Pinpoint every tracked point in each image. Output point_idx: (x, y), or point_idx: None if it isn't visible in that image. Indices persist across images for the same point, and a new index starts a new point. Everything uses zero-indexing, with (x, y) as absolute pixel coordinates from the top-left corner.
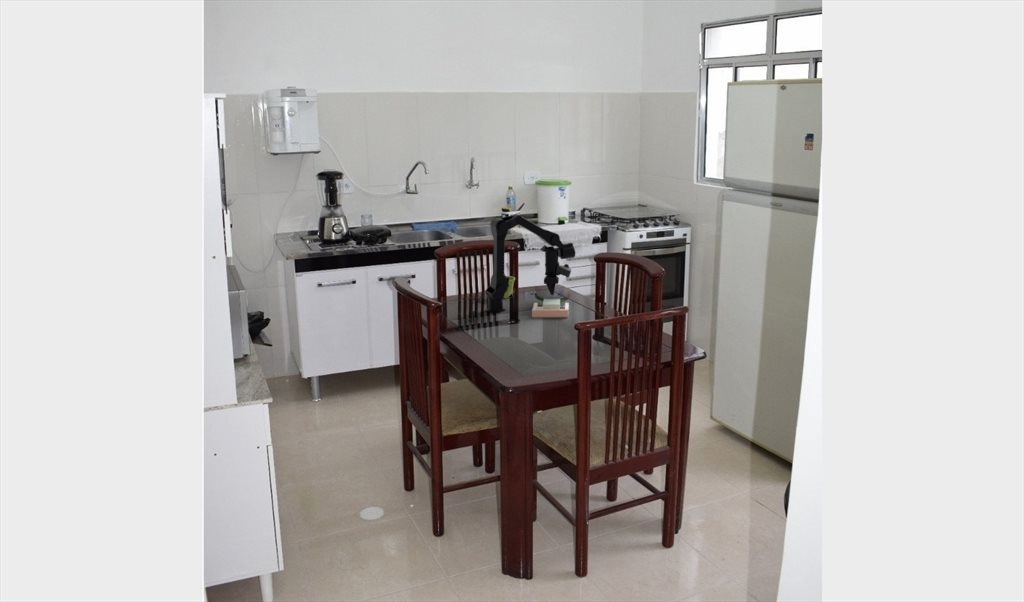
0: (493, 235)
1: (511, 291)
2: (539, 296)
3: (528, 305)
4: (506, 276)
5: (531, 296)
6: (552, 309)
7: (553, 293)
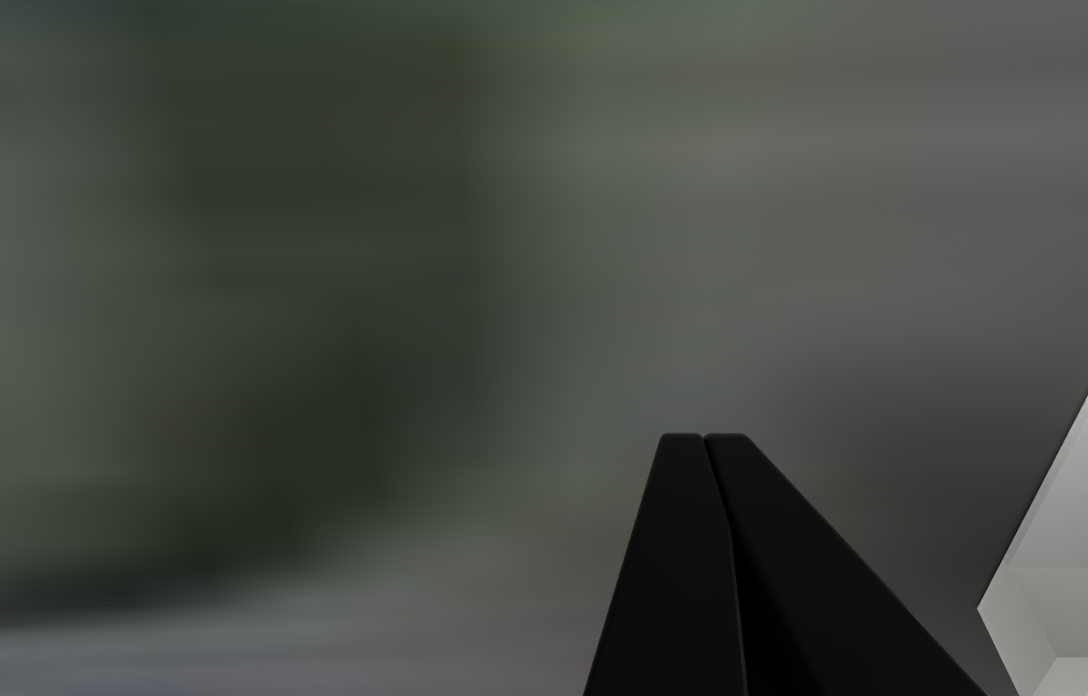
0: None
1: None
2: (12, 563)
3: None
4: None
5: (78, 675)
6: None
7: (780, 481)
